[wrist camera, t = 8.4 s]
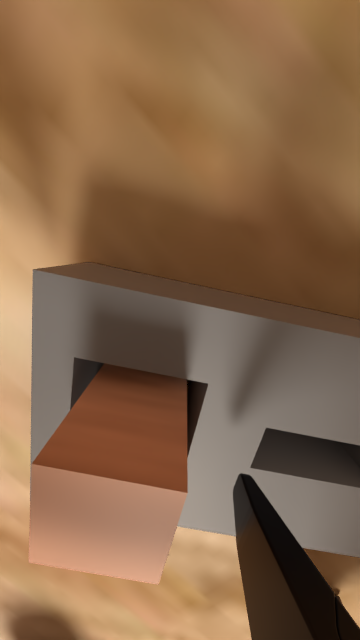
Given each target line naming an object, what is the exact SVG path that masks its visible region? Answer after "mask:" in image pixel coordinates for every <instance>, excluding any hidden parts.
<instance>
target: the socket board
mask: <svg viewBox="0 0 360 640" xmlns="http://www.w3.org/2000/svg"><path fill="white" fill-rule="evenodd" d="M104 363H106V364H111V365H116V366H121V367H126V368H131V369H137V370H142V371H147V372H152V373H157V374H162V375H167V376H172V377H177V378H182V379H187V380H190V383H189V387H188V391H187V472H188V493H187V497H186V500H185V503H184V506H183V509H182V512H181V515H180V519H179V522H178V525H177V526H178V527H184V528H190V529H196V530H202V531H207V532H213V533H219V534H225V535H231V536H236V531H235V518H234V505H233V488H234V485H235V483H236V480H237V477H238V475H239V474H240V473H243V474H249V475H251V476H252V478H253V479H254V480H255V482H256V483H257V485H258V486H259V487H260V489H261V490H262V492H263V493H264V495H265V496H266V497H267V499H268V500H269V502H270V503H271V504H272V506H273V507H274V509H275V510H276V511H277V513H278V514H279V516H280V517H281V519H282V520H283V521H284V523H285V524H286V526H287V527H288V528H289V530H290V531H291V533H292V534H293V535H294V537H295V538H296V540H297V541H298V543H299V544H300V545H301V547H302V548H307V549H312V550H318V551H324V552H330V553H336V554H342V555H347V556H353V557H359V558H360V320H359V319H354V318H349V317H344V316H340V315H335V314H330V313H326V312H321V311H316V310H312V309H307V308H302V307H298V306H293V305H288V304H283V303H279V302H274V301H269V300H265V299H260V298H255V297H251V296H246V295H241V294H237V293H232V292H227V291H222V290H218V289H213V288H208V287H204V286H199V285H194V284H190V283H185V282H180V281H176V280H171V279H166V278H161V277H157V276H152V275H147V274H143V273H138V272H133V271H129V270H124V269H119V268H114V267H110V266H105V265H100V264H96V263H91V262H87V263H79V264H71V265H64V266H56V267H48V268H40V269H33V301H32V389H31V466H32V463H33V461H34V460H35V458H36V457H37V456H38V454H39V453H40V451H41V450H42V449H43V447H44V446H45V445H46V443H47V442H48V440H49V439H50V438H51V436H52V435H53V434H54V432H55V431H56V429H57V428H58V427H59V425H60V424H61V422H62V421H63V420H64V418H65V417H66V416H67V414H68V413H69V411H70V410H71V409H72V407H73V406H74V404H75V403H76V402H77V400H78V399H79V398H80V396H81V395H82V393H83V392H84V391H85V389H86V388H87V387H88V385H89V384H90V382H91V381H92V380H93V378H94V377H95V375H96V374H97V373H98V371H99V370H100V369H101V367H102V366H103V364H104ZM30 499H31V477H30Z"/></svg>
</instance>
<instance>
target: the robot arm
mask: <svg viewBox="0 0 360 640" xmlns="http://www.w3.org/2000/svg"><path fill="white" fill-rule="evenodd" d="M233 505H234V518H235V531H236V543H237V551H238V558H239V564H240V570H241V576H242V582H243V588H244V595H245V601H246V607H247V613H248V619H249V625H250V631H251V637H252V640H360V628H359V627H358V625H357V624H356V623H355V621H354V620H353V619H352V617H351V616H350V614H349V613H348V612H347V610H346V609H345V607H344V606H343V604H342V602H341V599H340V597H339V596H336V595H335V594H334V592H333V591H332V589H331V588H330V586H329V585H328V583H327V582H326V581H325V579H324V578H323V576H322V575H321V574H320V572H319V571H318V569H317V568H316V567H315V565H314V564H313V562H312V561H311V559H310V558H309V557H308V555H307V554H306V552H305V551H304V550H303V548H302V547H301V545H300V544H299V543H298V541H297V540H296V538H295V537H294V535H293V534H292V533H291V531H290V530H289V528H288V527H287V526H286V524H285V523H284V521H283V520H282V519H281V517H280V516H279V514H278V513H277V511H276V510H275V509H274V507H273V506H272V504H271V503H270V502H269V500H268V499H267V497H266V496H265V495H264V493H263V492H262V490H261V489H260V487H259V486H258V485H257V483H256V482H255V480H254V479H253V478H252V476H251V475H249V474H243V473H240V474H239V475H238V477H237V480H236V483H235V485H234V488H233Z"/></svg>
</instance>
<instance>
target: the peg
mask: <svg viewBox="0 0 360 640" xmlns="http://www.w3.org/2000/svg"><path fill="white" fill-rule="evenodd" d="M187 493H188V472H187V379H182V378H177V377H172V376H167V375H162V374H157V373H152V372H147V371H142V370H137V369H131V368H126V367H121V366H116V365H111V364H106V363H104V364H103V366H102V367H101V369H100V370H99V371H98V373H97V374H96V375H95V377H94V378H93V380H92V381H91V382H90V384H89V385H88V387H87V388H86V389H85V391H84V392H83V393H82V395H81V396H80V398H79V399H78V400H77V402H76V403H75V404H74V406H73V407H72V409H71V410H70V411H69V413H68V414H67V416H66V417H65V418H64V420H63V421H62V422H61V424H60V425H59V427H58V428H57V429H56V431H55V432H54V434H53V435H52V436H51V438H50V439H49V440H48V442H47V443H46V445H45V446H44V447H43V449H42V450H41V451H40V453H39V454H38V456H37V457H36V458H35V460H34V461H33V463H32V466H31V499H30V533H29V563H34V564H40V565H46V566H52V567H58V568H63V569H69V570H75V571H81V572H87V573H93V574H99V575H105V576H111V577H116V578H122V579H128V580H134V581H140V582H146V583H152V584H158V585H159V582H160V578H161V575H162V572H163V569H164V566H165V563H166V560H167V556H168V553H169V550H170V547H171V544H172V541H173V537H174V534H175V531H176V528H177V525H178V522H179V519H180V515H181V512H182V509H183V506H184V503H185V500H186V497H187Z"/></svg>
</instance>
